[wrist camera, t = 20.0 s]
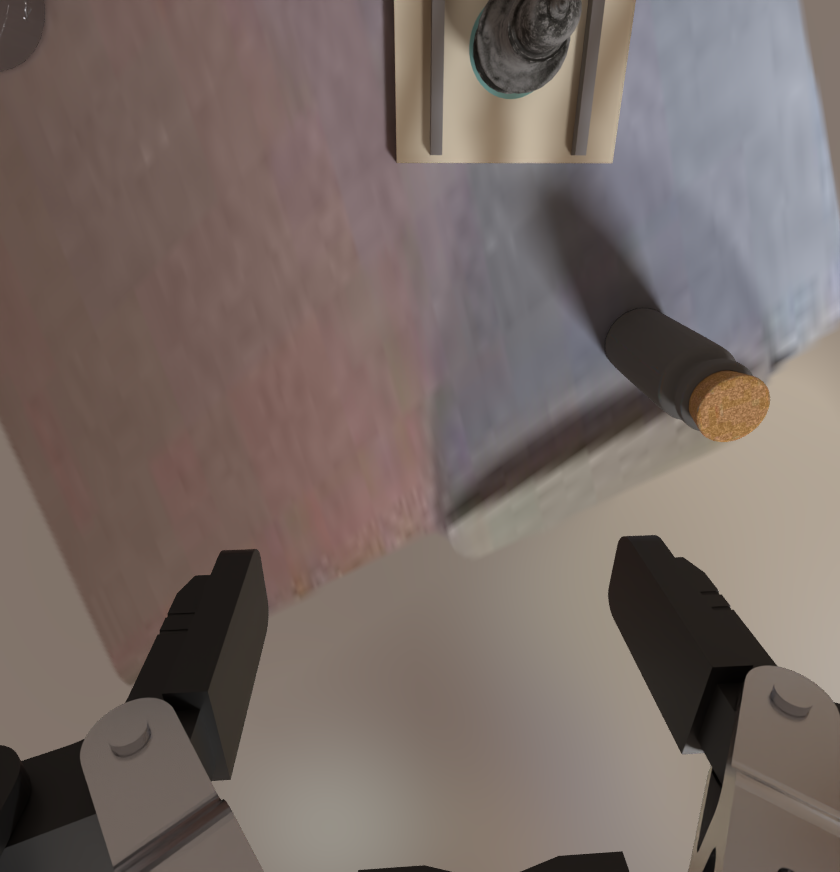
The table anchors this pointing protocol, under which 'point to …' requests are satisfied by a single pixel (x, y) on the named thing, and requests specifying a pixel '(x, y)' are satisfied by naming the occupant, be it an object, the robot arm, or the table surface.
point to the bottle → (687, 375)
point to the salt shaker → (523, 42)
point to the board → (498, 112)
